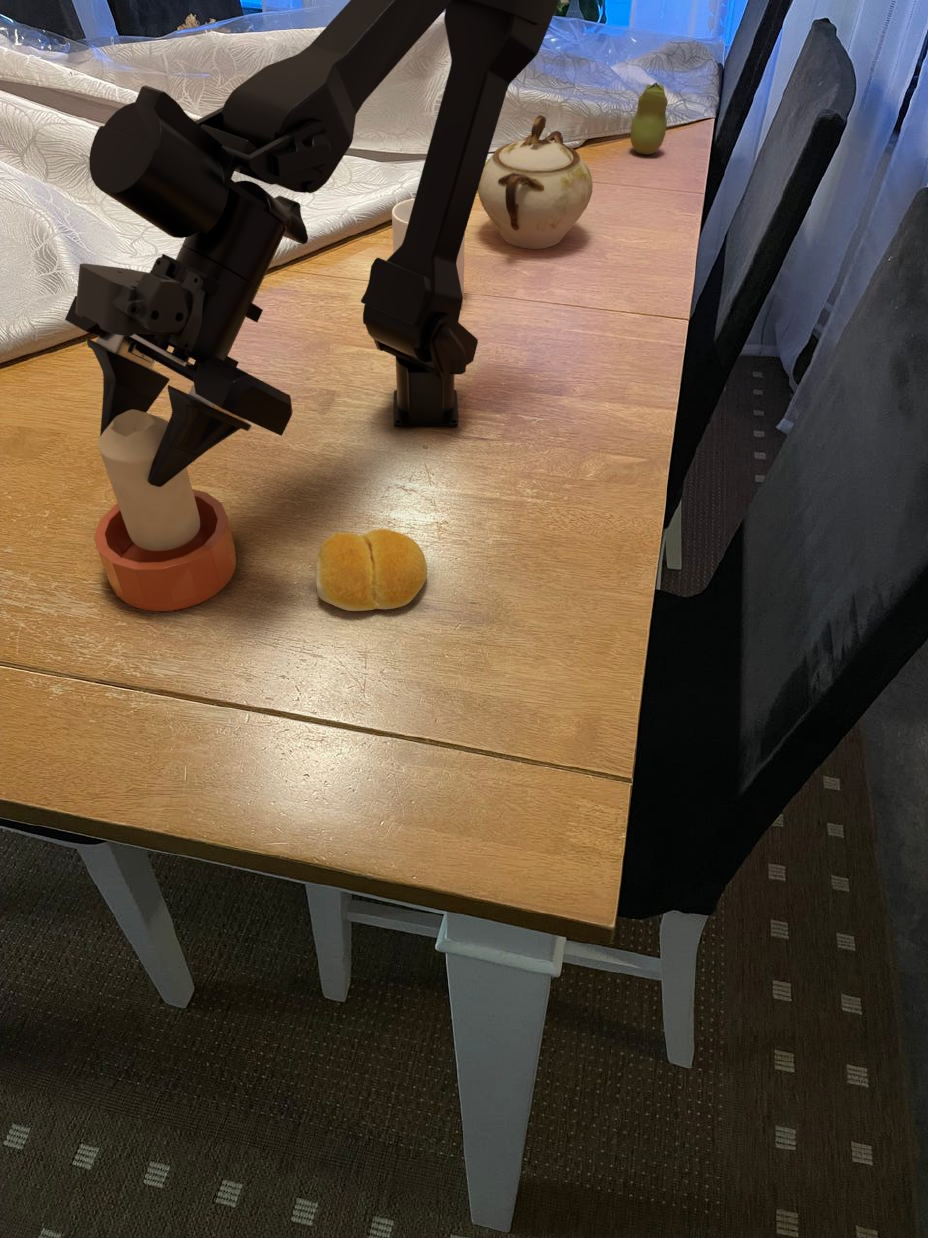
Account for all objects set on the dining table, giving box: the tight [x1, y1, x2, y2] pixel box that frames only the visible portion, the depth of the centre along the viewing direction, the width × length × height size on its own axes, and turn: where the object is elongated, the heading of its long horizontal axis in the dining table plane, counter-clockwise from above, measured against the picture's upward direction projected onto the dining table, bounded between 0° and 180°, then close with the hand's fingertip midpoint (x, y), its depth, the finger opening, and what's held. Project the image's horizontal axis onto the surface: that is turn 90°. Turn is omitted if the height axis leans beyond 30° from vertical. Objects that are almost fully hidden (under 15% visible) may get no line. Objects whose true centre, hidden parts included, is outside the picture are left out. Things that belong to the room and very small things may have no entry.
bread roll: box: [315, 528, 428, 612], centre depth 70 cm, size 8×9×4 cm
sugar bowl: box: [477, 114, 594, 250], centre depth 114 cm, size 20×15×15 cm
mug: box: [391, 197, 466, 297], centre depth 101 cm, size 12×8×10 cm
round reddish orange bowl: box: [93, 488, 237, 612], centre depth 70 cm, size 10×10×4 cm
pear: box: [630, 82, 669, 155], centre depth 140 cm, size 6×5×10 cm
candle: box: [97, 410, 200, 551], centre depth 65 cm, size 6×6×10 cm
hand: (129, 468), depth 64 cm, fingers closed on candle, 5 cm apart
